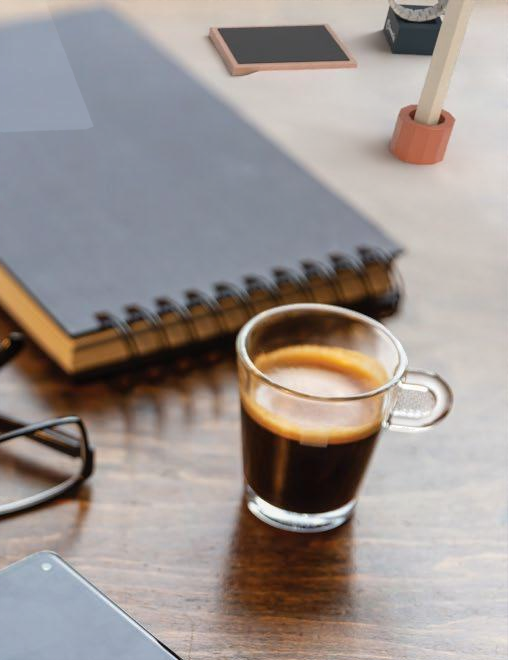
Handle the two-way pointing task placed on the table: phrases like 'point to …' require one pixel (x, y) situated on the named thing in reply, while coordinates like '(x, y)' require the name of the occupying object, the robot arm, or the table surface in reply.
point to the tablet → (280, 48)
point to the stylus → (443, 61)
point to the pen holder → (420, 137)
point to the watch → (413, 27)
